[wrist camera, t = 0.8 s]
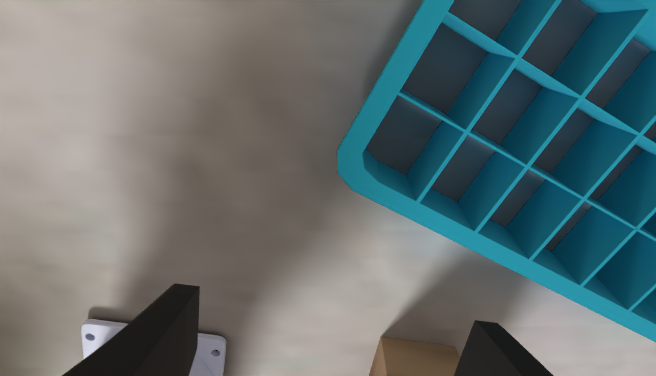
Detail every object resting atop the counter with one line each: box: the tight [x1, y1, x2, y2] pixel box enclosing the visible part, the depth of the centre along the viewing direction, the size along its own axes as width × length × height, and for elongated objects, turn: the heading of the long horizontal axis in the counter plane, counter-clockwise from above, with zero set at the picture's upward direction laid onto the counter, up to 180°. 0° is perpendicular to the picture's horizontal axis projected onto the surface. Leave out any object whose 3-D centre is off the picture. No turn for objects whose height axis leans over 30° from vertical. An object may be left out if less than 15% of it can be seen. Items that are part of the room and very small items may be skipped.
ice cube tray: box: [337, 0, 656, 342], centre depth 17 cm, size 12×20×3 cm, turn 62°
